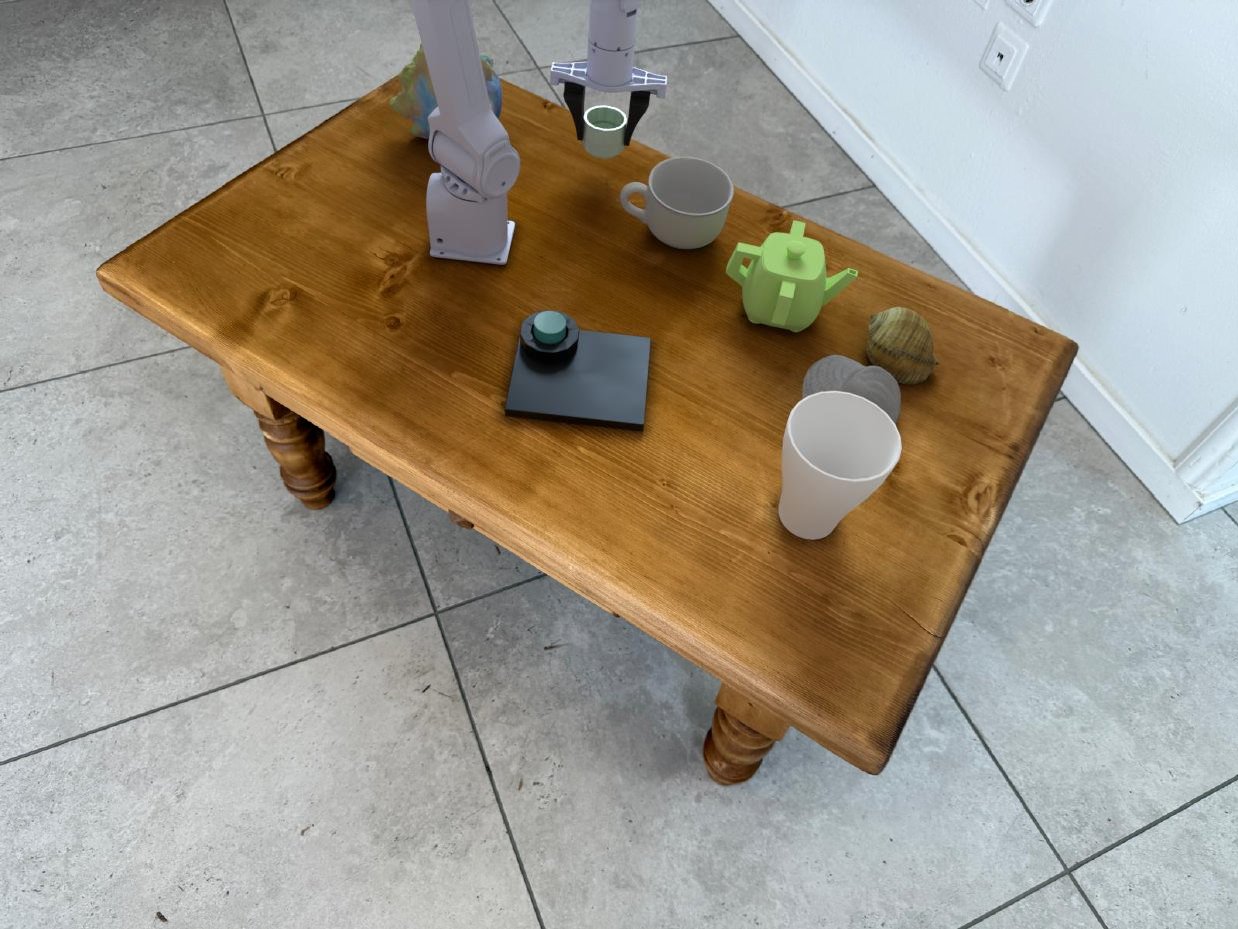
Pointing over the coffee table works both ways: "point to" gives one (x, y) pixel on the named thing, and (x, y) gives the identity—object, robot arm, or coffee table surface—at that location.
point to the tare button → (549, 327)
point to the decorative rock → (421, 96)
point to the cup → (833, 460)
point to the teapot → (786, 279)
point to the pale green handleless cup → (604, 131)
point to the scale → (580, 378)
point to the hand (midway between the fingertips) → (604, 138)
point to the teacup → (683, 201)
